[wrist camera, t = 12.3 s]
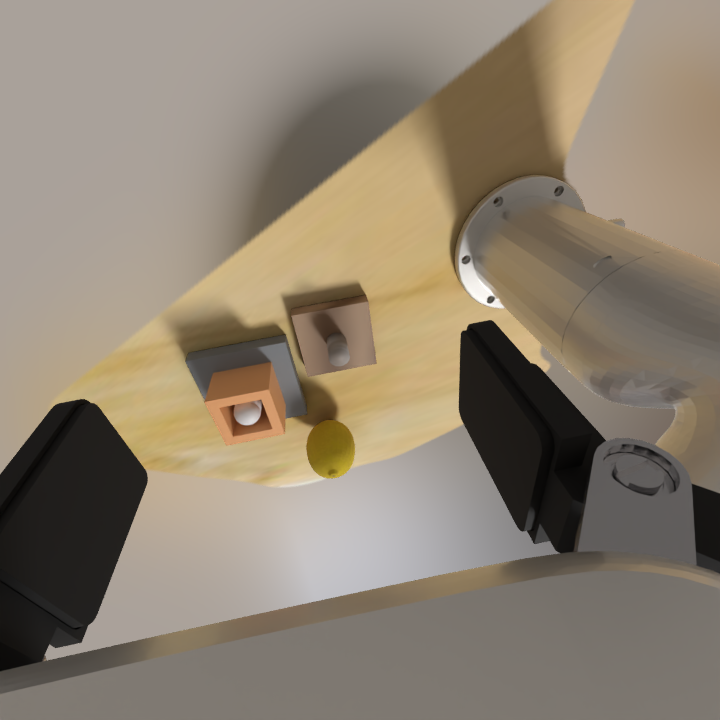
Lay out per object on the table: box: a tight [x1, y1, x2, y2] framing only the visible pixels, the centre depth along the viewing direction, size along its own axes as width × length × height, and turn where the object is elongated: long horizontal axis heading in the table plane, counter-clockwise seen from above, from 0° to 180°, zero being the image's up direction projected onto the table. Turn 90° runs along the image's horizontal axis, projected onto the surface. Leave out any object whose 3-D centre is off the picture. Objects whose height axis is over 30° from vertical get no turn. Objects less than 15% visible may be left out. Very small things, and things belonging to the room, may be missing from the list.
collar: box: [205, 362, 286, 446], centre depth 38 cm, size 6×6×4 cm
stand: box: [291, 295, 377, 377], centre depth 38 cm, size 8×8×4 cm
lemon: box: [307, 420, 355, 478], centre depth 43 cm, size 6×6×8 cm
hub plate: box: [185, 335, 307, 425], centre depth 39 cm, size 10×10×6 cm
